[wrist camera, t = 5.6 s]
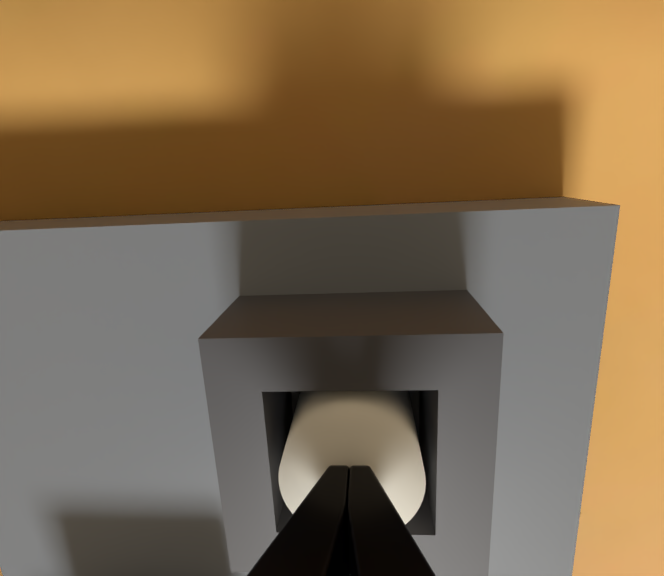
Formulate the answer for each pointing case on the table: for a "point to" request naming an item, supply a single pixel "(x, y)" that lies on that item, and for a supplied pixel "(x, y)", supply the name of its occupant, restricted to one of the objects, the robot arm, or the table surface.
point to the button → (354, 444)
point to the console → (295, 376)
